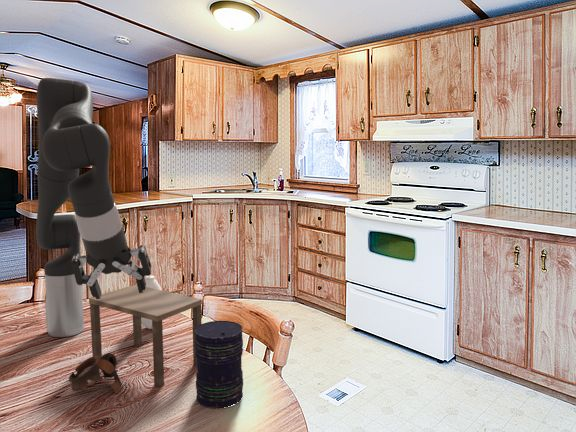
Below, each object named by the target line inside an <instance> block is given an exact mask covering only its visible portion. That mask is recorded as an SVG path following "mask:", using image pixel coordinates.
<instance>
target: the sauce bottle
mask: <svg viewBox="0 0 576 432" xmlns="http://www.w3.org/2000/svg"><path fill="white" fill-rule="evenodd" d="M144 277H145V282H146V287H149V288H153V289H158V290H162V291H163V289H162V287H161V285H160V283H159V282H158V281H157V279H156V277H155V276H154V275H152V274H150V275H149V276H144ZM141 326H144V327H145V328H146V329H148V330H152V320H150V319H146V318H142V317H141Z"/></svg>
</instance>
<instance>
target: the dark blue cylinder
mask: <svg viewBox="0 0 576 432" xmlns="http://www.w3.org/2000/svg"><path fill="white" fill-rule="evenodd" d="M195 335H196V337H195V340H196V341H195V349H196V351H195V354H196V358H197V366H196V374H195V378H196V379H195V380H196V381H195V389H196V390H195V391H196V401H197V403H198V404H199V406H202V407H204V408H207V409H212V410H220V409H219V408H223V409H225V408H224V407H228V406H231V405H233V404H236V403H237V402H239V401H240V400H241V398H242V397H244V396H243V395H244V394H243V393H244V392H243V388H244V387H243V386H244V378H243V377H244V376H243V375H244V374H243V373H244V371H243V369H242V366H243V365H242V356H243V352H244V348H243V346H244V339H243V326H242V325H241V324H240V323H238V322H235V321H230V320H213V321H207V322H204V323H202V324H201V325H199V326H198V327H197V328H196V329H195ZM242 399H243V398H242ZM241 401H242V400H241ZM241 401H240V402H241ZM240 402H239V403H240ZM236 405H237V404H236ZM216 408H218V409H216ZM228 408H229V407H228Z"/></svg>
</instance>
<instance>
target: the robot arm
mask: <svg viewBox="0 0 576 432" xmlns="http://www.w3.org/2000/svg"><path fill="white" fill-rule="evenodd" d="M36 88H37V89H36V113H37V128H38V129H37V130H38V157H37V192H38V193H37V194H38V197H37V198H38V199H37V201H38V204H37V215H36V223H35V240H36V244H37V246H38V247H39V248H40V249H42V250H46V251H47V250H60V249H66V250H65V251H64V252H63V253H62V254H61V255H59V256H57V257H55V258H53V259H51V260H49V261H47V262H46V263H45V264H44V269H43V270H44V272H43V273H44V283H45V299H44V303H45V304H44V306H45V319H46V320H45V321H46V332H48V333H47V334H48V335H49V336H50V337H54V338H66V337H67V338H68V337H73V336H75V335H78V334H81V333H82V332H83V331H84V329H85V322H84V320H85V319H84V303H83V300H84V298H83V285H86V286H88V288H89V291H90V295H91V297H96V299H100V298H101V295H102V289H101V287H100V283H99V280H98V279H99V277H100V275H101V274H104V275H110V274H112V273H115V274H119V273H122V272H124V273H125V274H127V276H131V277H133V278H134V279H135V282H136V285H137V287H138V290H139V293H143V290H145V288H146V282H145V280H146V279H145V277H146V276H149V275H150V274H151V273H152V263H151V261H150V260H151V259H150V257H149V254H148V250H147V247H146V245H144V244H141V245H139V246H138V248H133V249H131V248H130V247H129V246H128V245H129V244H128V242H127V239H126V234H125V231H124V227H123V224H122V220H121V216H120V213H119V210H118V208H117V205H116V203H115V199H114V196H113V195H114V194H113V191H112V187H111V183H110V173H109V172H110V171H109V168H110V156H111V155H110V153H111V142H110V137H109V134H108V133H107V131H106V130H105V129H104V128H103V127H102V126H101V125H99V124H97V123H93V116H94V115H93V114H94V102H93V101H94V100H93V99H94V97H93V92H92V89H91V87H90V86H89V85H88V84H87V83H85V82H83V81H77V80H71V79H62V78H54V77H44V78H41V79H40V80H39V82H38V85H37V87H36ZM88 167H91V168H90V169H89V170H88V171H87V172H85V173H83V174H81V175H80V169H83V168H88ZM69 199H70V203H71V204H72V208H73V211H74V214H56V213H57V211H58V210H59V209H60V208H61V207H62V206H63V205H64V204H65V203H66V202H67V201H68V200H69ZM81 240H82V244H83V247H84V250H85V253H86V255H81ZM132 257H135V259H136V260H137V261H139V263H140V265H141V266H140V265H139V264H137V263H136V261H135V260H133V259H132ZM85 263H86V264H88V265H90V266H91V267H92V269H91V271H90V273H89V274H86V272H85V270H84V269H85V268H84V266H85ZM151 275H152V274H151Z"/></svg>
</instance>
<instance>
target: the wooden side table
mask: <svg viewBox="0 0 576 432" xmlns="http://www.w3.org/2000/svg"><path fill="white" fill-rule="evenodd" d="M88 303H89V309H90V310H89V311H90V313H89V314H90V315H89V316H90V328H91V329H90V334H91V353H92V357H93V356H99V358H101V357H102V356H103V354H102V352H103V351H102V335H101V334H102V333H101V332H102V331H101V330H102V329H101V309H100V308H101V307H103V308H104V309H105V308H106V309H110V310H113V311H117V312H121V313H123V314H127V315H132V331H133V332H132V334H133V335H132V336H133V337H132V338H133V346H134V347H137V348H139V347H140V346H141V347H142V346H143V330H142V329H143V328H142V326H143V325H142V324H141V317H142V318H146V319H150V320H152V329H151V330H152V332H151V333H152V357H153V361H152V362H153V385H154V387H156V388H161V387H163V386H164V385H165V368H164V367H165V366H164V336H163V334H164V333H163V331H164V330H163V320H165V319H166V320H167V319H168V318H170V317H173V316H175V315H178V314H182V313H183V312H186V311H188V310H192V311H191V312H192V313H191V314H192V360H193V362H192V363H193V365H194V366H196V367H197V358H196V354H195V351H196V349H195V341H196V340H195V337H196V335H195V329H196V328H197V327H198V326H199V325H201V324H203V323H202V321H203V320H202V318H203V317H202V305H203V298H202V299H201V298H196V297H194V296H193V297H192V296H189V295H185V294H179V293H177V292H176V293H175V292H171V291H167V290H166V291H165V290H163V289H162V290H158V289H153V288H149V287H146V288H145V290H143V293H139V290H138V287H137V284H133V285H129V286H125V287H122V288H119V289H116V290H112V291H110V292H105V293H103V294H102V293H101V298H100V299H96V297H93V296H91V297H89V298H88Z"/></svg>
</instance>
